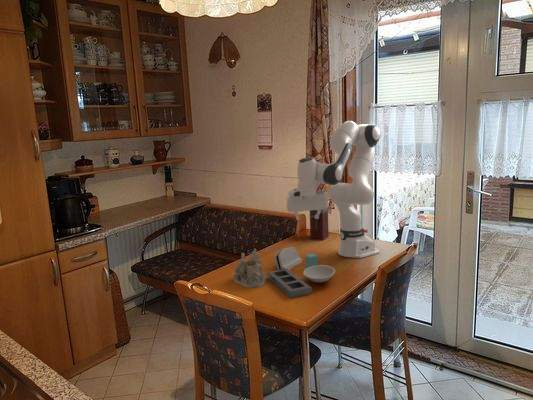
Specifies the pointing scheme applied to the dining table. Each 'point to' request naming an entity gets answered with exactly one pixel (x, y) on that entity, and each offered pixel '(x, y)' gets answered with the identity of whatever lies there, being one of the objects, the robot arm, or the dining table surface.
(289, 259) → the white arch segment
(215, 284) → the dining table surface
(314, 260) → the square peg
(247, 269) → the ceramic cottage
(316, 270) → the dish
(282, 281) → the grey slotted board
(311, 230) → the dark brown tall piece
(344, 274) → the dining table surface
